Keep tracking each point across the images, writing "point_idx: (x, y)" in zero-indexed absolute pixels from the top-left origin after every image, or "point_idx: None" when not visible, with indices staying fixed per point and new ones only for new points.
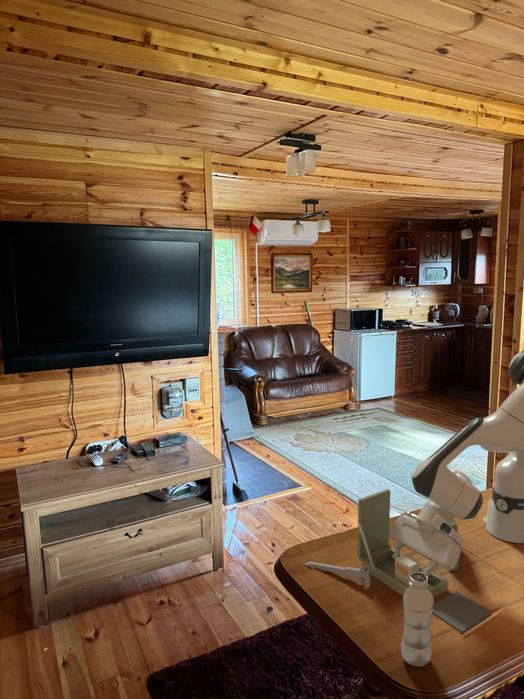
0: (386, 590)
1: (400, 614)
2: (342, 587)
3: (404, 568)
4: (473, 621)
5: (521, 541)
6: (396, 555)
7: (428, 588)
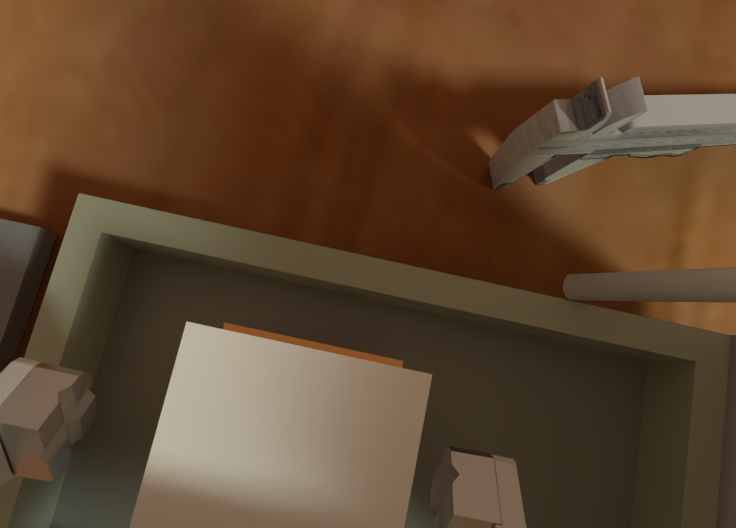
0: (392, 248)
1: (191, 91)
2: (626, 74)
3: (275, 333)
4: None
5: None
6: (472, 482)
7: (138, 483)
